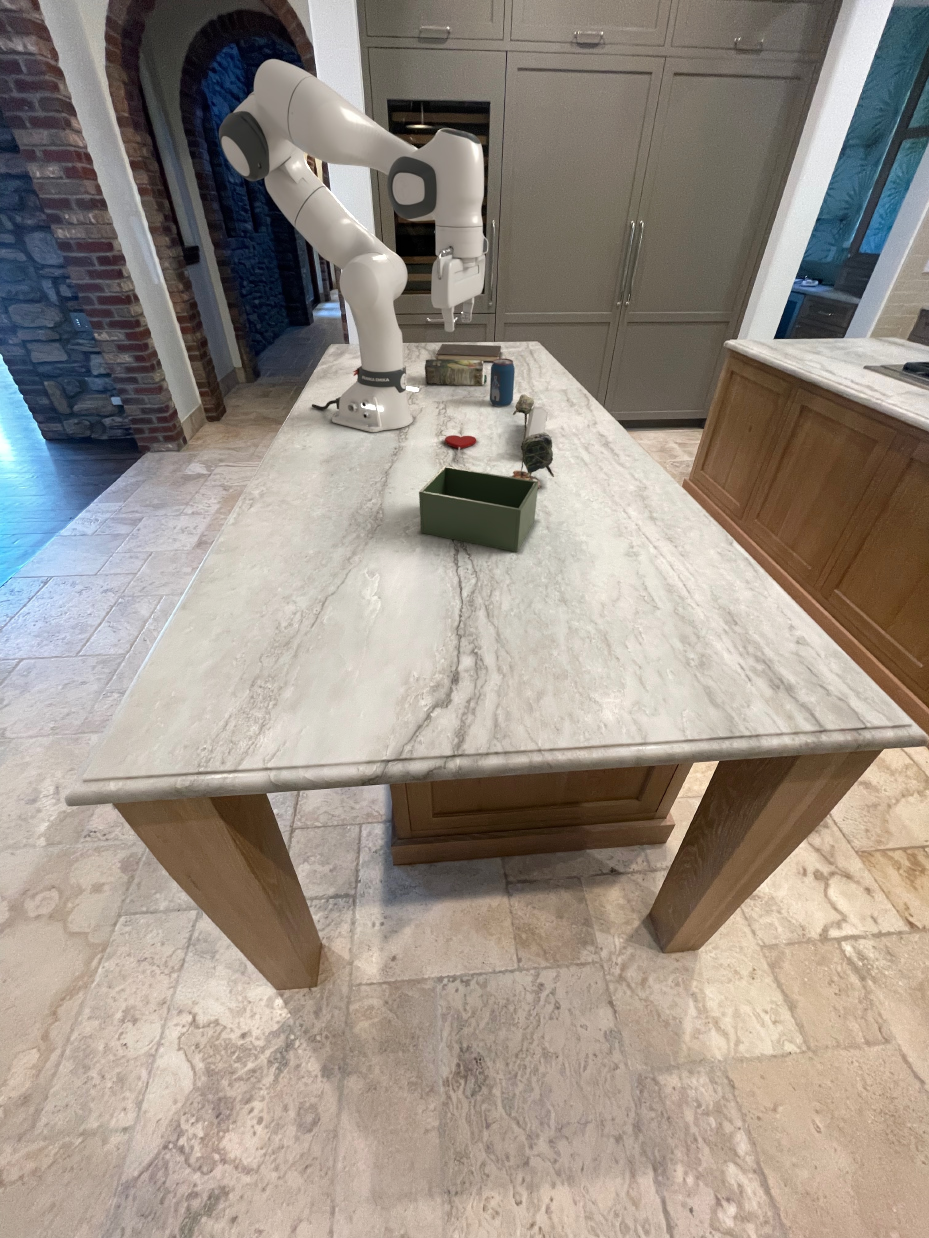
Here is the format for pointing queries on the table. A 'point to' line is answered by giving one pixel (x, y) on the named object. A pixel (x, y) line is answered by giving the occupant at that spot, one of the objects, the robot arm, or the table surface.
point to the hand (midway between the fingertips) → (458, 326)
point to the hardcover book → (469, 352)
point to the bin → (478, 507)
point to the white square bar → (536, 421)
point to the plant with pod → (533, 446)
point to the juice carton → (455, 372)
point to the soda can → (502, 382)
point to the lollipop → (460, 442)
